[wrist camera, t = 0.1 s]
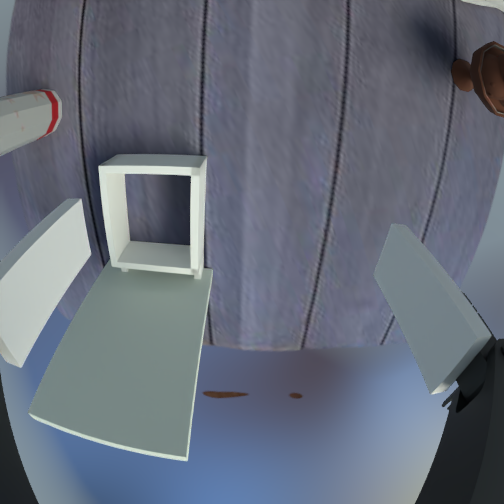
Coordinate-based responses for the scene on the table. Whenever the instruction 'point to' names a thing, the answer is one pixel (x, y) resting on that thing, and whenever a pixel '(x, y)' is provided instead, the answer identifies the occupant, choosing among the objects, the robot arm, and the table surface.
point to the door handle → (488, 3)
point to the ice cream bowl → (483, 76)
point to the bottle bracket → (135, 328)
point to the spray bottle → (28, 117)
